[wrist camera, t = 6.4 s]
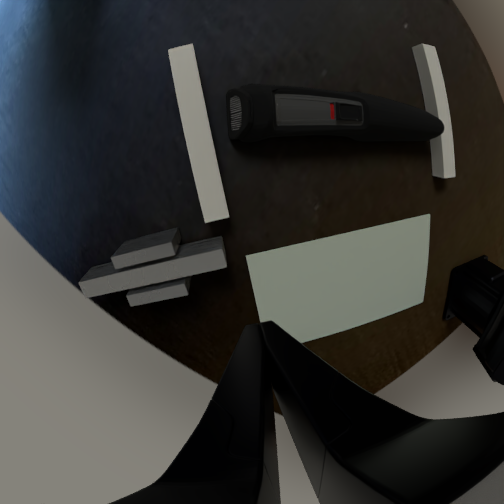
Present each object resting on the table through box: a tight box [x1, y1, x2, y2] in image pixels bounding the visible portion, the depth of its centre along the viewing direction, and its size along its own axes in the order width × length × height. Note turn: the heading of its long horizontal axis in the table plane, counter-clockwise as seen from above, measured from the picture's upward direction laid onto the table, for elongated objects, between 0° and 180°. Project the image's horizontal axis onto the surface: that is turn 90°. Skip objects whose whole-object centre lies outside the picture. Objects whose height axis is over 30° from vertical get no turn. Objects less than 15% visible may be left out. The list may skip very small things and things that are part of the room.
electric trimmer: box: [226, 84, 444, 142], centre depth 15 cm, size 4×16×3 cm, turn 93°
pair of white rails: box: [168, 44, 455, 223], centre depth 16 cm, size 11×20×2 cm, turn 101°
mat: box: [246, 214, 430, 343], centre depth 21 cm, size 9×16×1 cm, turn 101°
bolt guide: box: [111, 228, 192, 306], centre depth 17 cm, size 4×4×3 cm
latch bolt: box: [79, 236, 227, 298], centre depth 17 cm, size 1×10×2 cm, turn 101°
